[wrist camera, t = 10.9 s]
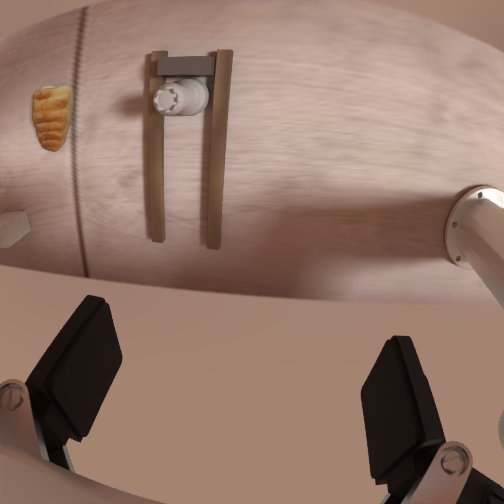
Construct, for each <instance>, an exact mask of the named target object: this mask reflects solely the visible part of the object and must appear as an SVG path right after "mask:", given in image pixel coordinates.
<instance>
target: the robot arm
mask: <svg viewBox="0 0 504 504" xmlns="http://www.w3.org/2000/svg"><path fill="white" fill-rule="evenodd" d="M445 246H446V249H447V252H448V254H449V256H450V257H451V259H452V260H453V261H454V262H455V263H456V264H457V265H458V266H460V267H462V268H464V269H469V270H473V269H474V270H475V272H476V273H477V274H478V275H479V277H480V278H481V279H482V281H483V282H484V283H485V284H486V286H487V287H488V288H489V290H490V291H491V292H492V294H493V295H494V297H495V298H496V299H497V301H498V302H499V304H500V305H501V306H502V308H503V309H504V193H503V192H502V191H501V190H499V189H498V188H496V187H493V186H485V185H484V186H479V187H476V188H474V189H472V190H470V191H469V192H467V193H466V194H464V195H463V196H462V197H461V198H460V199H459V201H458V202H457V203H456V205H455V206H454V207H453V209H452V211H451V213H450V215H449V218H448V221H447V224H446V229H445ZM121 363H122V353H121V349H120V346H119V342H118V338H117V335H116V331H115V327H114V323H113V319H112V315H111V311H110V307H109V304H108V303H106V302H105V299H104V298H101V297H97V296H92V295H87V296H86V297H85V298H84V300H83V301H82V302H81V304H80V305H79V306H78V308H77V309H76V310H75V312H74V313H73V314H72V316H71V317H70V318H69V320H68V321H67V322H66V324H65V325H64V326H63V328H62V329H61V330H60V332H59V333H58V335H57V336H56V337H55V339H54V340H53V342H52V343H51V345H50V346H49V347H48V349H47V350H46V352H45V353H44V355H43V356H42V357H41V359H40V360H39V362H38V363H37V365H36V366H35V368H34V369H33V371H32V372H31V374H30V375H29V377H28V379H27V381H26V382H25V384H24V383H23V382H21V381H20V380H16V379H10V380H7V381H4V382H3V383H1V384H0V504H165V503H162V502H158V501H154V500H150V499H147V498H143V497H140V496H137V495H133V494H130V493H127V492H124V491H121V490H118V489H115V488H112V487H109V486H107V485H104V484H101V483H99V482H96V481H93V480H91V479H88V478H86V477H83V476H81V475H78V474H76V473H75V470H74V468H73V465H72V462H71V459H70V456H69V453H68V450H67V447H66V443H67V441H68V439H69V438H71V439H73V440H75V441H78V442H81V440H82V438H83V437H86V436H87V435H88V434H89V431H90V429H91V427H92V425H93V422H94V420H95V418H96V416H97V414H98V412H99V409H100V407H101V405H102V403H103V401H104V399H105V397H106V394H107V392H108V390H109V388H110V386H111V384H112V382H113V380H114V378H115V376H116V373H117V372H118V370H119V368H120V365H121ZM361 401H362V408H363V415H364V422H365V430H366V437H367V446H368V455H369V464H370V473H371V477H372V478H373V479H375V483H376V485H382V484H387V486H388V494H387V495H386V496H385V498H384V499H383V501H382V502H381V503H380V504H504V489H503V487H501V486H500V485H499V484H497V483H495V482H494V481H493V480H491V479H490V478H488V477H486V476H485V475H483V474H482V473H480V472H479V471H477V470H476V469H474V468H473V467H472V464H473V460H472V455H471V452H470V451H469V449H468V448H467V447H466V446H465V445H464V444H463V443H460V442H457V441H450V442H446V440H445V436H444V432H443V429H442V425H441V421H440V418H439V414H438V411H437V408H436V404H435V401H434V398H433V395H432V392H431V389H430V386H429V383H428V380H427V378H426V376H425V375H424V373H423V370H422V367H421V364H420V361H419V358H418V356H417V353H416V350H415V347H414V345H413V342H412V340H411V338H410V337H409V336H393V337H392V338H391V339H390V340H387V341H386V343H385V345H384V347H383V349H382V351H381V353H380V355H379V357H378V358H377V360H376V363H375V364H374V366H373V368H372V370H371V372H370V374H369V376H368V378H367V379H366V381H365V383H364V385H363V386H362V389H361ZM498 433H499V438H500V442H501V445H502V448H503V450H504V410H503V412H502V414H501V416H500V420H499V424H498Z"/></svg>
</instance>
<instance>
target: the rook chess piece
mask: <svg viewBox="0 0 504 504" xmlns="http://www.w3.org/2000/svg"><path fill="white" fill-rule="evenodd" d="M208 101H209V92H208V89H207V87H206V85H205V84H204V83H203V82H202V81H200V80H198V79H195V78H186V79H182V80H180V81H178V82H177V83H173V82H172V83H165V84H163V85H161V86H160V87H159V88H158V89H157V90H156V92H155V95H154V98H153V103H154V106H155V108H156V110H157V111H158V112H159V113H160V114H162V115H165V116H174V115H176V114H181V115H183V116H191V115H196V114H198V113H200V112H201V111H202V110H203V109H204V108H205V107H206V106H207V103H208Z"/></svg>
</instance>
